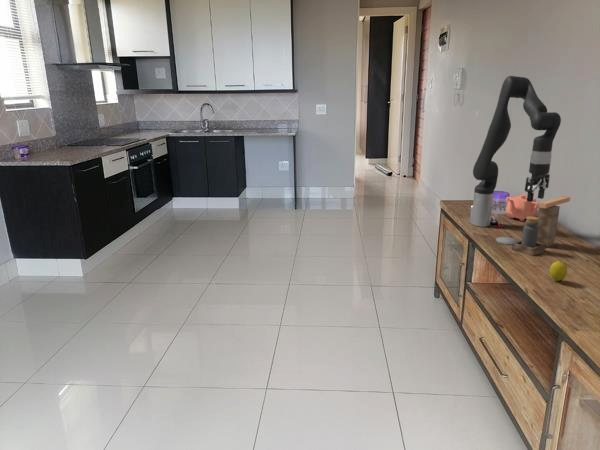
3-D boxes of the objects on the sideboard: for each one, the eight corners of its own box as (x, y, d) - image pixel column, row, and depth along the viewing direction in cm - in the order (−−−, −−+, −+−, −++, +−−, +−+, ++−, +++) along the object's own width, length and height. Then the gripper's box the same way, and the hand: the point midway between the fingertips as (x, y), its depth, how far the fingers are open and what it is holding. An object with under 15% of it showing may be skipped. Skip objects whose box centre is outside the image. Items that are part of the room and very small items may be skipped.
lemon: (544, 278, 166) (548, 258, 163) (558, 277, 166) (562, 257, 164) (554, 284, 160) (557, 264, 158) (568, 283, 161) (572, 263, 158)
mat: (491, 240, 207) (491, 239, 207) (504, 236, 213) (504, 235, 213) (511, 246, 199) (511, 245, 199) (524, 242, 205) (524, 241, 205)
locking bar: (538, 207, 194) (539, 202, 193) (562, 200, 205) (563, 195, 204) (545, 208, 191) (546, 204, 191) (569, 201, 203) (570, 197, 202)
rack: (511, 249, 196) (516, 210, 190) (536, 240, 207) (542, 203, 201) (532, 255, 188) (538, 215, 183) (557, 245, 199) (563, 207, 194)
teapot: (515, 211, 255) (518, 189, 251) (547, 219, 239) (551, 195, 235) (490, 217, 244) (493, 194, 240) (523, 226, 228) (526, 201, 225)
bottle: (537, 253, 191) (542, 219, 187) (522, 252, 192) (527, 219, 188) (533, 248, 197) (537, 216, 192) (519, 247, 198) (523, 215, 193)
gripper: (540, 159, 190) (535, 196, 195) (522, 162, 182) (517, 200, 187) (558, 161, 184) (552, 199, 189) (540, 164, 176) (534, 204, 181)
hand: (535, 199), depth 188 cm, fingers open, 8 cm apart
